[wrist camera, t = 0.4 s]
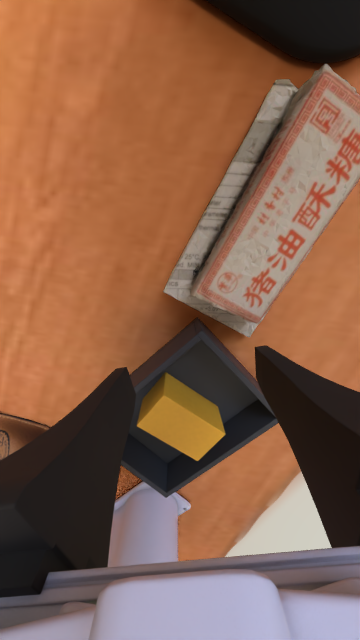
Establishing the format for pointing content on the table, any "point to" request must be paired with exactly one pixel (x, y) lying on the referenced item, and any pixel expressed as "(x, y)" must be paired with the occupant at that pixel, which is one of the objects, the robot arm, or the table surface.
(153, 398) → the block
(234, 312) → the packaged product
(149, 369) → the tub
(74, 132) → the table surface
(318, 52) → the desk fan
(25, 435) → the sunglasses case
